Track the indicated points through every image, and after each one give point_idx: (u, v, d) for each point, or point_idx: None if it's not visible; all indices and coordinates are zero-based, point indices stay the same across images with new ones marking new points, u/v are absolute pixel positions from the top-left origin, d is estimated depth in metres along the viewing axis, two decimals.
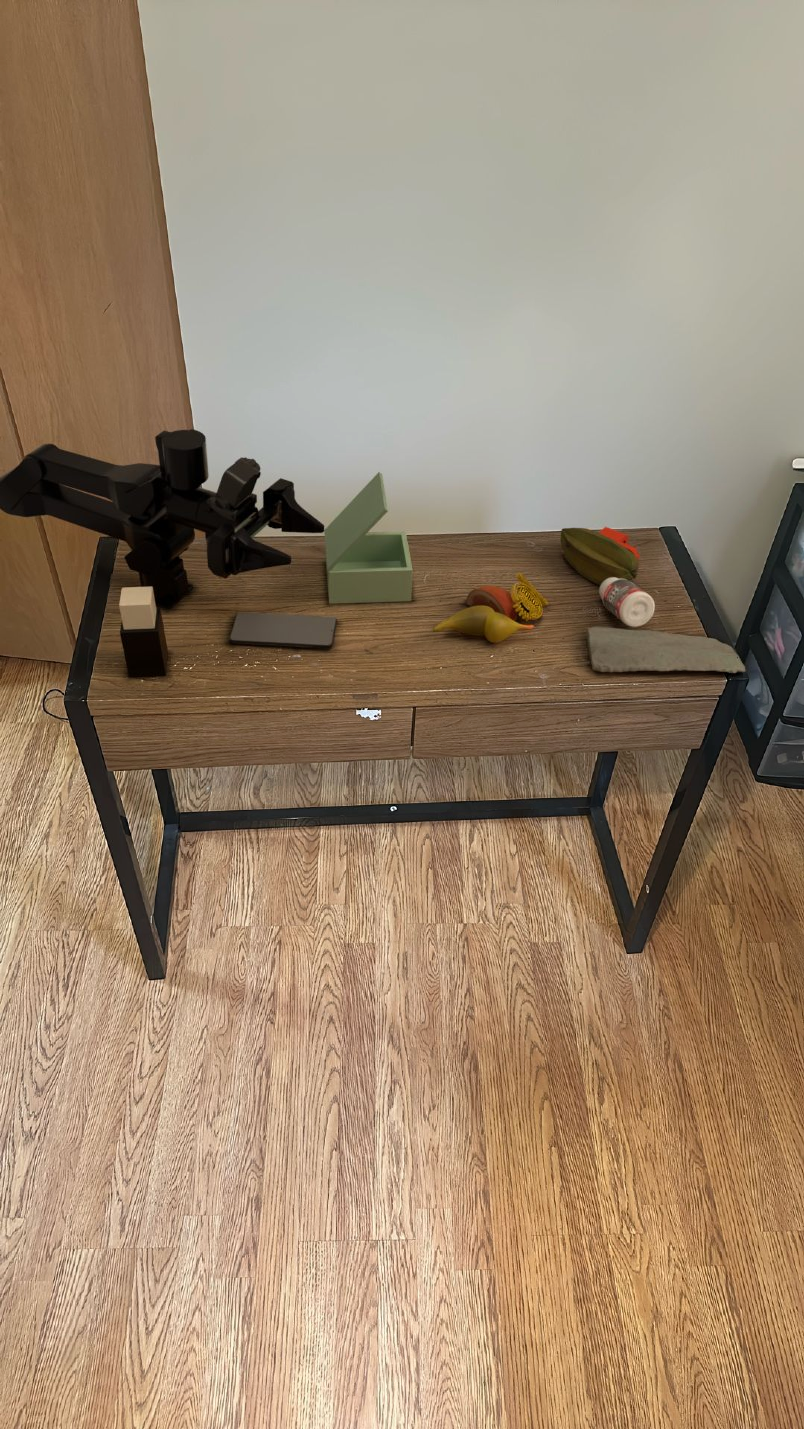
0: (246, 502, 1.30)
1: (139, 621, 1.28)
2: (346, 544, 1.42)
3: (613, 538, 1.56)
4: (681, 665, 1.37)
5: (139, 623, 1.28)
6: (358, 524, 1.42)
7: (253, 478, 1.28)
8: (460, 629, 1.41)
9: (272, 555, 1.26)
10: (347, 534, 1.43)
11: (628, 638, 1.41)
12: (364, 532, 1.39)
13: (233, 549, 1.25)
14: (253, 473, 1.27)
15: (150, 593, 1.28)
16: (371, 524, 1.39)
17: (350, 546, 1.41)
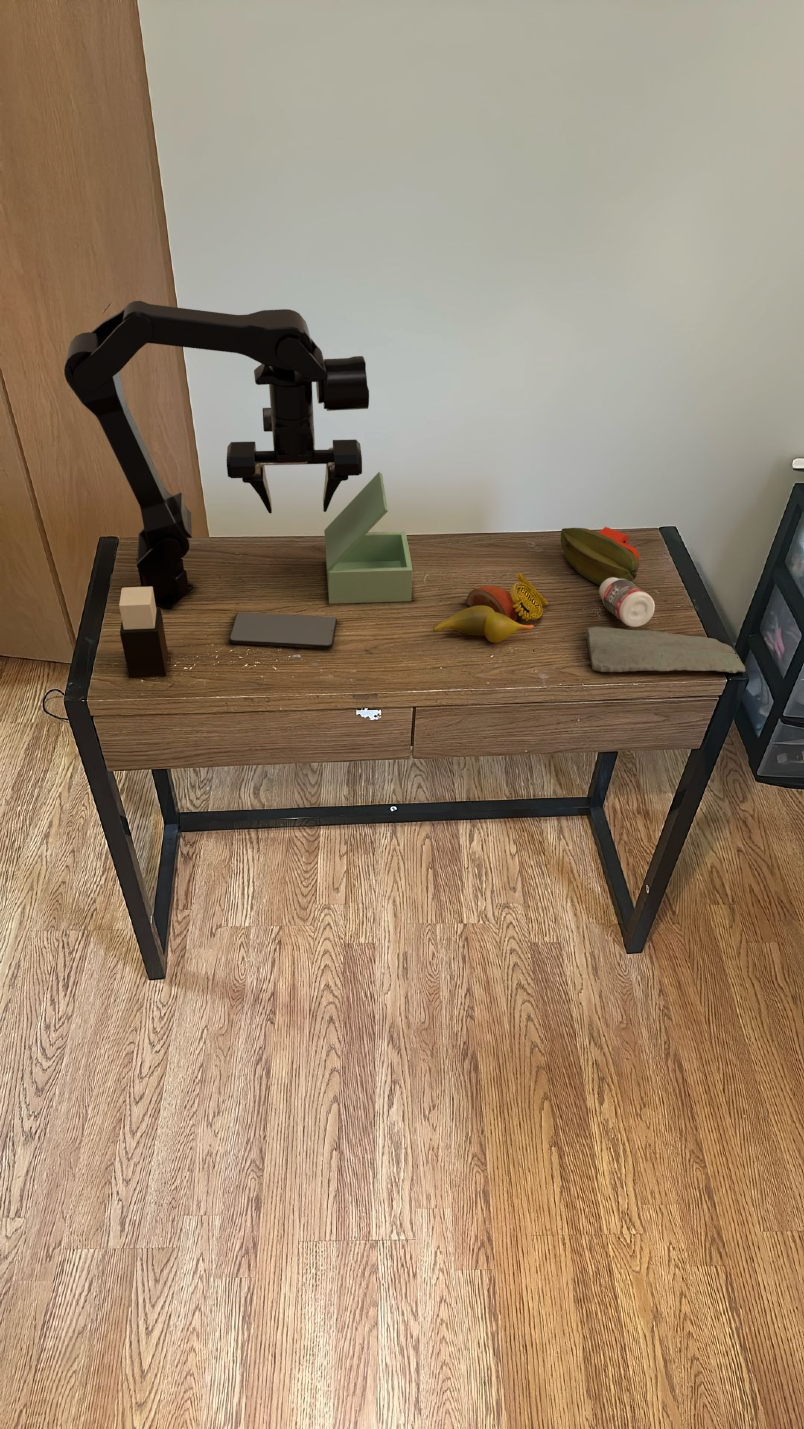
0: None
1: (139, 621, 1.28)
2: (346, 544, 1.42)
3: (613, 538, 1.56)
4: (681, 665, 1.37)
5: (139, 623, 1.28)
6: (358, 524, 1.42)
7: None
8: (460, 629, 1.41)
9: None
10: (347, 534, 1.43)
11: (628, 638, 1.41)
12: (364, 532, 1.39)
13: None
14: None
15: (150, 593, 1.28)
16: (371, 524, 1.39)
17: (350, 546, 1.41)
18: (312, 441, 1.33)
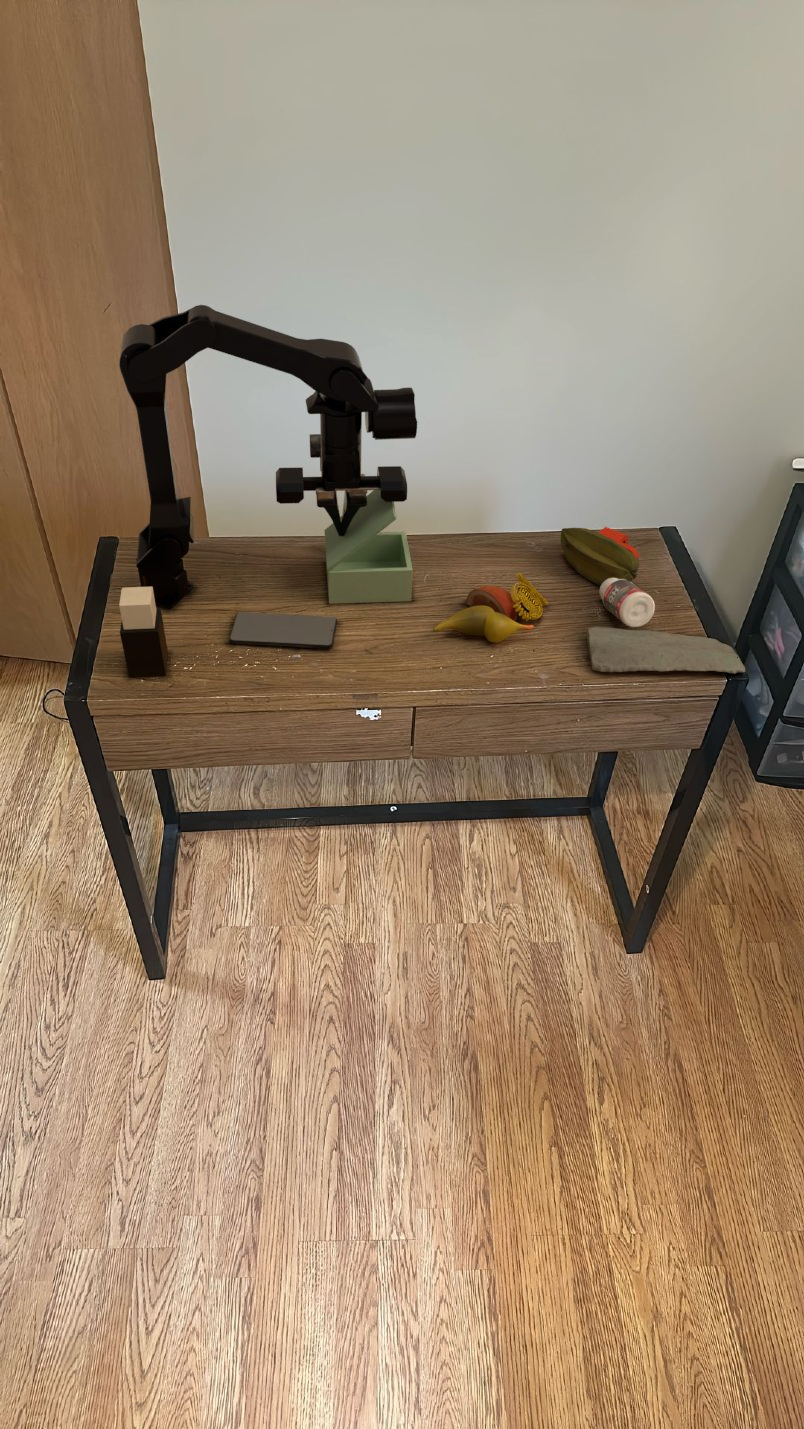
0: None
1: (139, 621, 1.28)
2: (349, 546, 1.42)
3: (613, 538, 1.56)
4: (681, 665, 1.37)
5: (139, 623, 1.28)
6: (363, 528, 1.42)
7: None
8: (460, 629, 1.41)
9: None
10: (351, 536, 1.43)
11: (628, 638, 1.41)
12: (370, 537, 1.40)
13: None
14: None
15: (150, 593, 1.28)
16: (378, 530, 1.39)
17: (354, 549, 1.41)
18: (359, 468, 1.37)
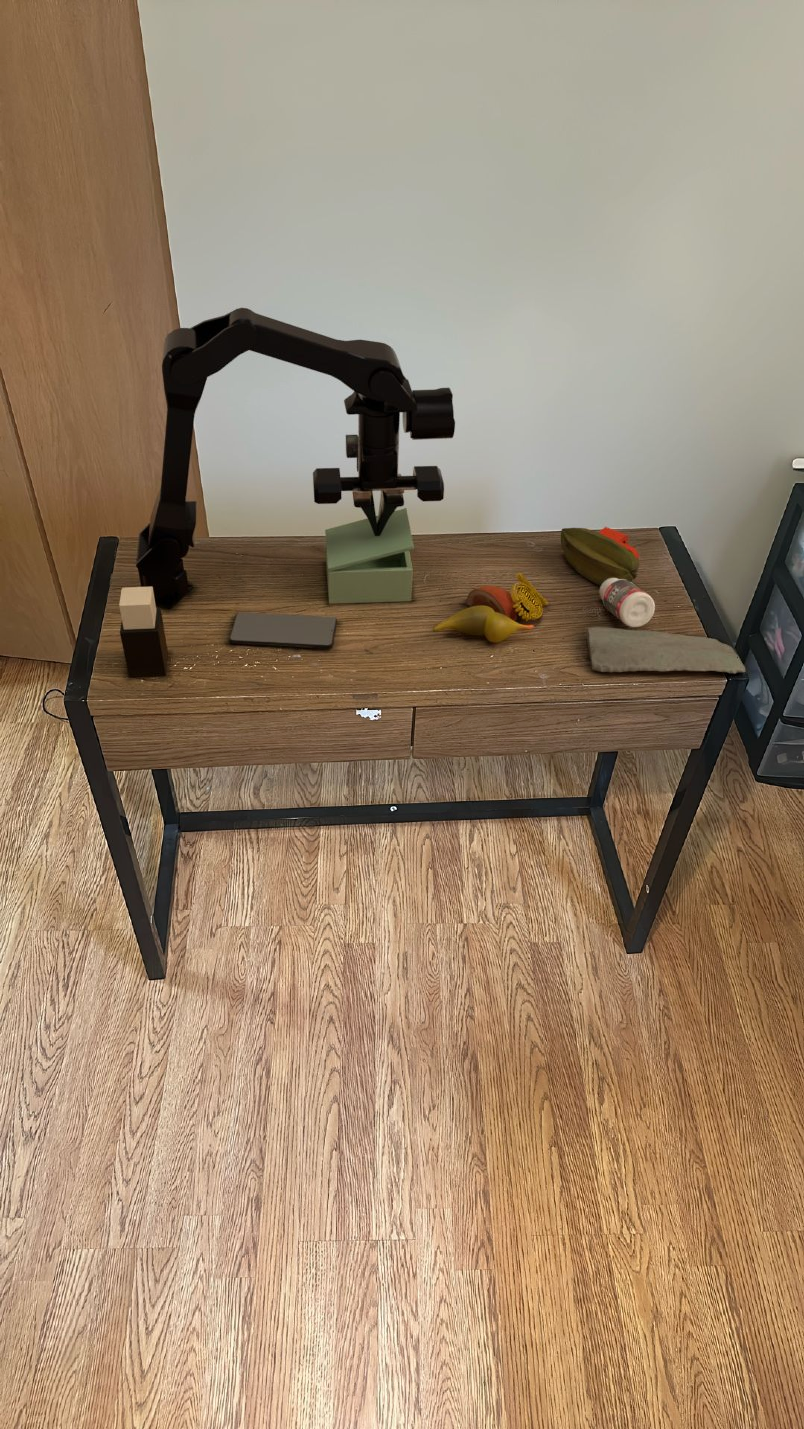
0: None
1: (139, 621, 1.28)
2: (357, 556, 1.43)
3: (613, 538, 1.56)
4: (681, 665, 1.37)
5: (139, 623, 1.28)
6: (375, 544, 1.44)
7: None
8: (460, 629, 1.41)
9: None
10: (359, 547, 1.45)
11: (628, 638, 1.41)
12: (382, 555, 1.42)
13: None
14: None
15: (150, 593, 1.28)
16: (392, 552, 1.42)
17: (362, 560, 1.43)
18: (397, 468, 1.37)
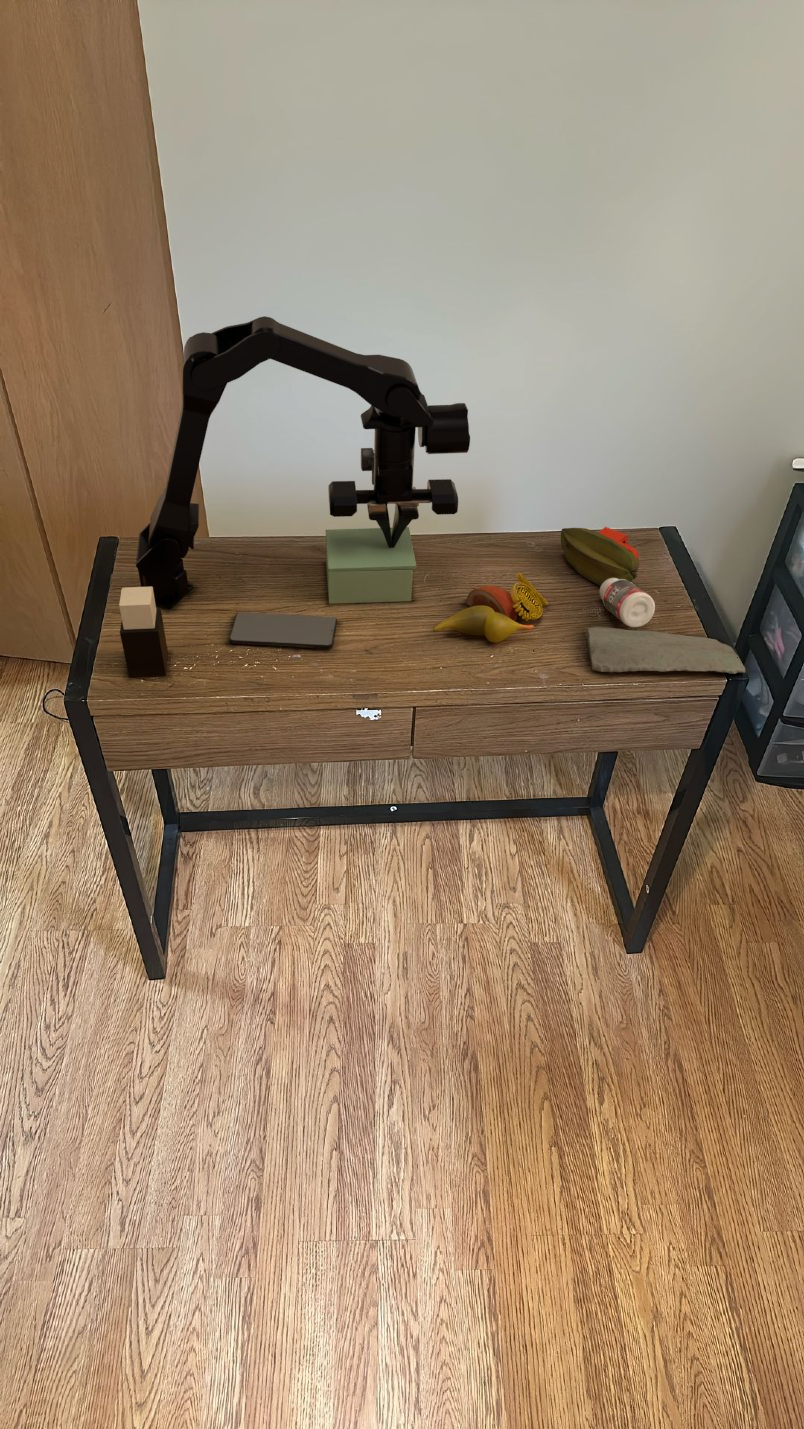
0: None
1: (139, 621, 1.28)
2: (359, 563, 1.44)
3: (613, 538, 1.56)
4: (681, 665, 1.37)
5: (139, 623, 1.28)
6: (377, 555, 1.46)
7: None
8: (460, 629, 1.41)
9: None
10: (361, 554, 1.46)
11: (628, 638, 1.41)
12: (384, 568, 1.44)
13: None
14: None
15: (150, 593, 1.28)
16: (395, 567, 1.44)
17: (363, 568, 1.44)
18: (412, 482, 1.39)
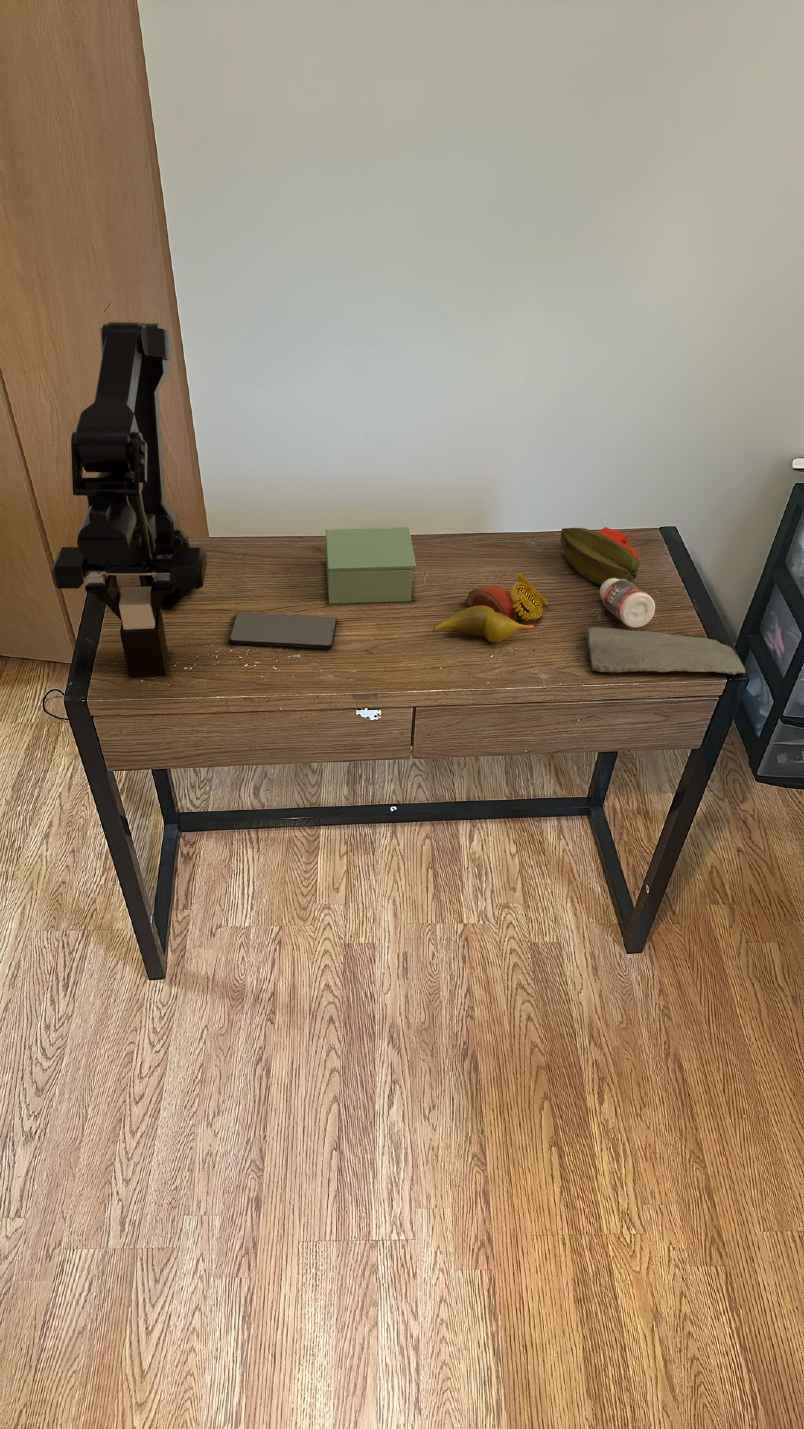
0: None
1: (139, 621, 1.28)
2: (359, 563, 1.44)
3: (612, 538, 1.56)
4: (681, 666, 1.37)
5: (139, 623, 1.28)
6: (377, 555, 1.46)
7: None
8: (460, 629, 1.41)
9: None
10: (361, 554, 1.46)
11: (628, 638, 1.40)
12: (384, 568, 1.44)
13: None
14: None
15: (150, 593, 1.28)
16: (395, 567, 1.44)
17: (363, 568, 1.44)
18: (146, 551, 1.21)
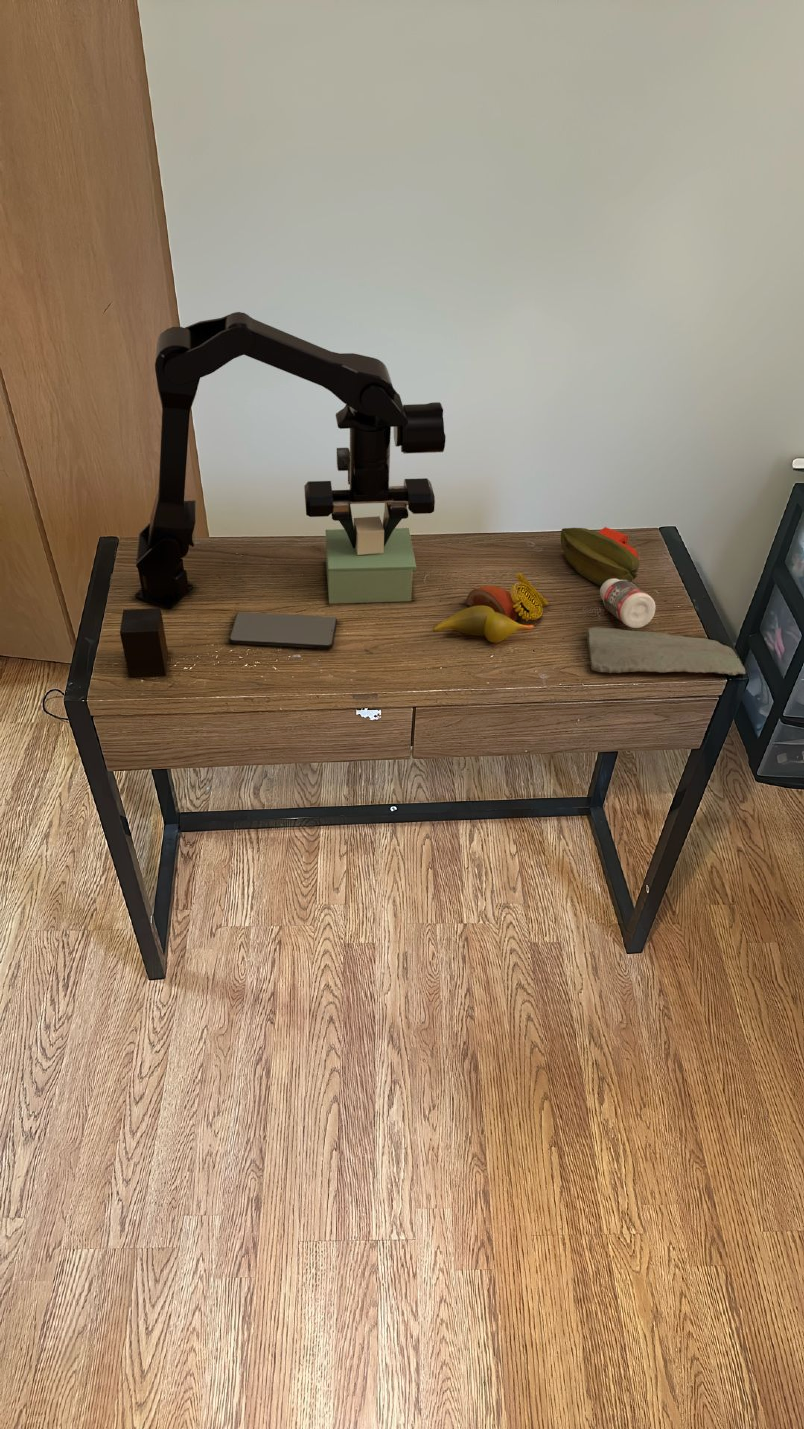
0: None
1: (372, 546, 1.45)
2: (359, 563, 1.44)
3: (612, 538, 1.56)
4: (681, 666, 1.37)
5: (371, 548, 1.45)
6: (377, 556, 1.46)
7: None
8: (460, 629, 1.41)
9: None
10: (361, 555, 1.46)
11: (628, 639, 1.40)
12: (384, 568, 1.44)
13: None
14: None
15: (380, 521, 1.45)
16: (395, 567, 1.44)
17: (363, 568, 1.44)
18: (388, 481, 1.39)
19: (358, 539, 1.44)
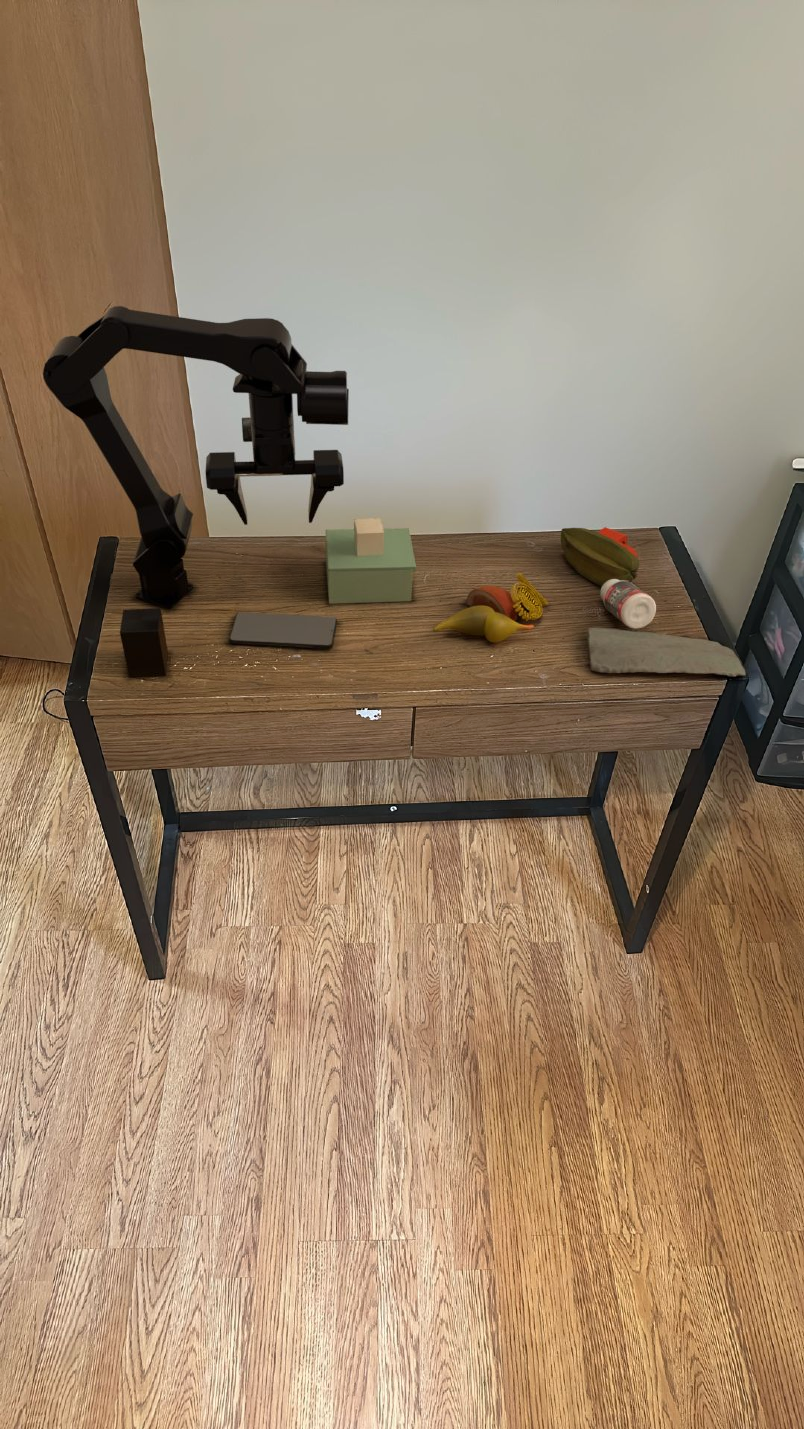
0: None
1: (371, 548, 1.45)
2: (359, 563, 1.44)
3: (612, 538, 1.56)
4: (680, 667, 1.37)
5: (371, 550, 1.45)
6: (377, 556, 1.46)
7: None
8: (460, 629, 1.41)
9: None
10: None
11: (628, 639, 1.40)
12: (384, 568, 1.44)
13: None
14: None
15: (380, 523, 1.45)
16: (395, 567, 1.44)
17: (363, 568, 1.44)
18: (293, 452, 1.31)
19: (358, 540, 1.44)
